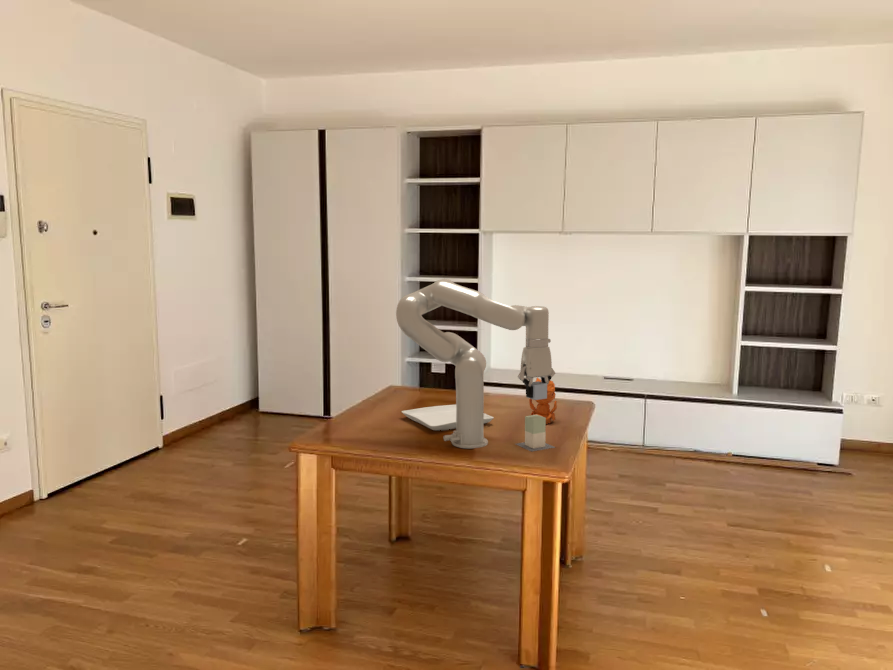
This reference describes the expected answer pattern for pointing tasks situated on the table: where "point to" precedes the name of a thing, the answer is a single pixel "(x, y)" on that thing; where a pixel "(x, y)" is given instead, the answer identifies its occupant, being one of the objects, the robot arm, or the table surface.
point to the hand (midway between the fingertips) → (536, 395)
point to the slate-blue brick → (539, 390)
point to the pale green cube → (535, 424)
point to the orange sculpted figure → (545, 403)
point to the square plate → (437, 417)
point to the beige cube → (535, 439)
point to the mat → (534, 448)
